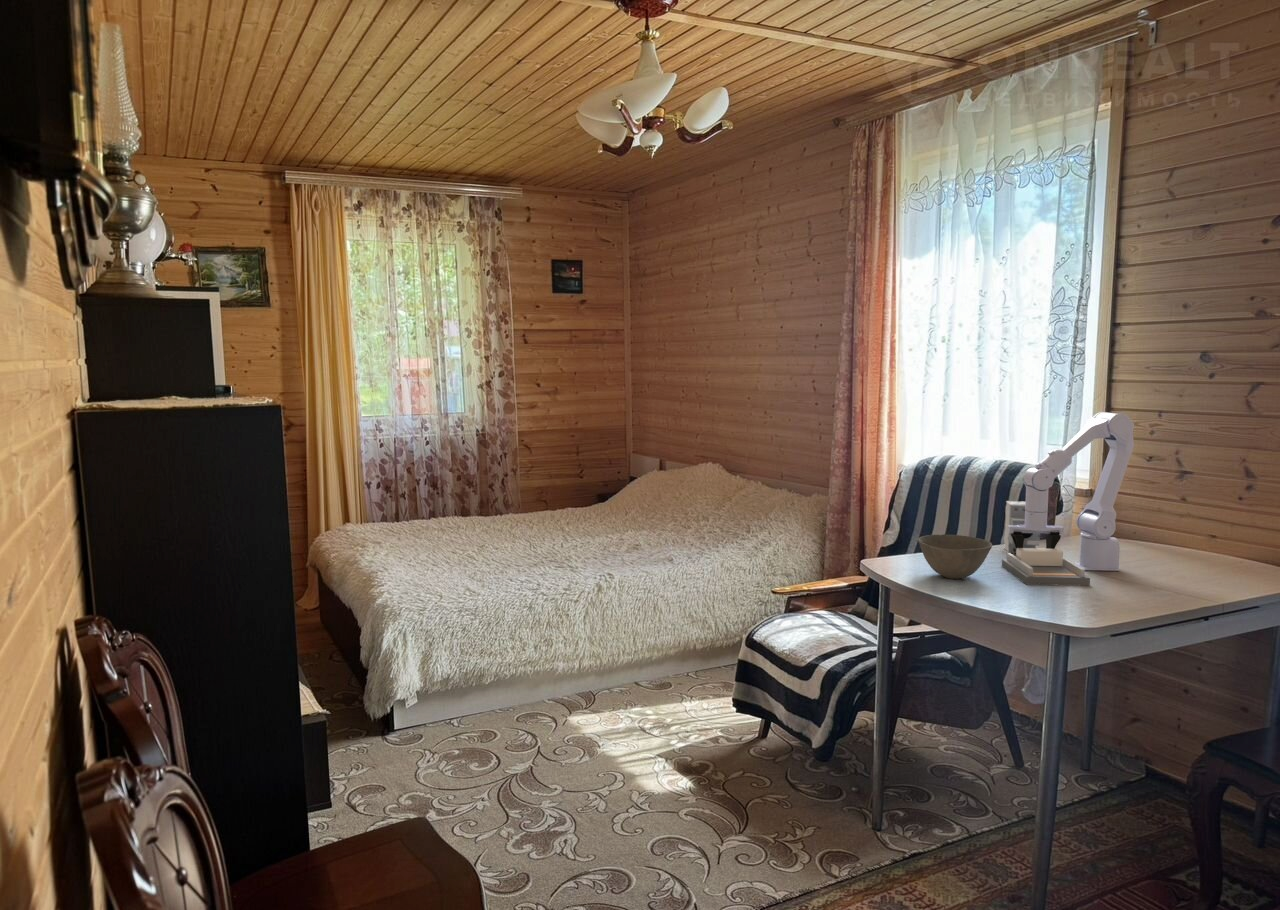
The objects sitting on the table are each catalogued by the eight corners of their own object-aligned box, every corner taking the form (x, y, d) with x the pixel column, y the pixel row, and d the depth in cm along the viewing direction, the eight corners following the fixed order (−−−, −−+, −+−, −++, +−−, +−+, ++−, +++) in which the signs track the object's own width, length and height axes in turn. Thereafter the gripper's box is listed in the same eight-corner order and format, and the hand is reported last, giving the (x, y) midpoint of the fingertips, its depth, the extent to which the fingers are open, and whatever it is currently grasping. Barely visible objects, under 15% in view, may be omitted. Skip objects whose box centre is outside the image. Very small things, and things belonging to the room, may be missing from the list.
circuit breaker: (1012, 558, 250) (1014, 508, 248) (1004, 547, 263) (1005, 500, 262) (1040, 559, 248) (1042, 509, 246) (1029, 548, 262) (1031, 501, 260)
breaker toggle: (1056, 562, 234) (1057, 548, 234) (1062, 566, 230) (1063, 551, 230) (1015, 561, 235) (1016, 548, 235) (1020, 565, 232) (1021, 551, 231)
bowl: (905, 578, 227) (906, 542, 226) (933, 565, 241) (934, 531, 240) (975, 590, 215) (976, 552, 214) (1000, 576, 229) (1002, 540, 228)
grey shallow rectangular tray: (1060, 567, 238) (1060, 553, 238) (1089, 585, 219) (1090, 570, 218) (1001, 565, 240) (1002, 552, 240) (1025, 584, 220) (1026, 569, 220)
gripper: (1057, 508, 238) (1055, 555, 240) (1004, 508, 240) (1002, 554, 241) (1067, 513, 231) (1065, 561, 233) (1012, 512, 233) (1010, 560, 234)
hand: (1034, 558), depth 237 cm, fingers open, 7 cm apart
